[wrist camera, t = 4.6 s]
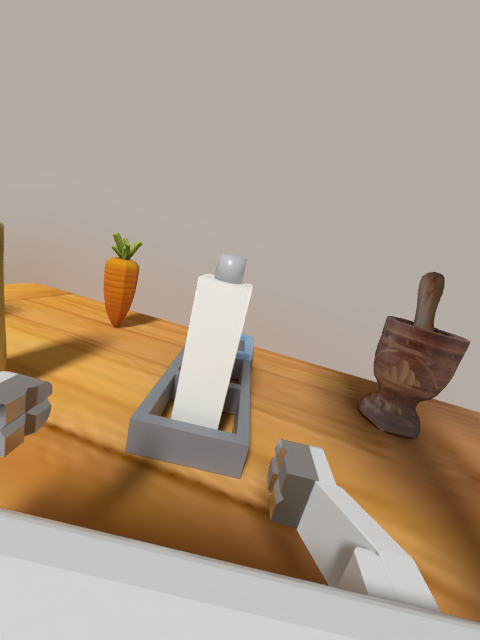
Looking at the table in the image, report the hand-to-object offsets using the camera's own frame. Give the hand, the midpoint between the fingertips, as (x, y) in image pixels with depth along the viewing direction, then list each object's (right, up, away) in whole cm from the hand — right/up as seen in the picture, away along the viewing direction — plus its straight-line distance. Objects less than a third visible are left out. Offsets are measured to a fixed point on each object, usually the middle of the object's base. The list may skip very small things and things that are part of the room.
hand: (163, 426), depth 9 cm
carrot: (-18, +2, +34) cm, 39 cm away
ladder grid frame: (-1, -4, +23) cm, 23 cm away
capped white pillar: (-1, -6, +15) cm, 17 cm away
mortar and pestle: (+22, -9, +27) cm, 36 cm away
